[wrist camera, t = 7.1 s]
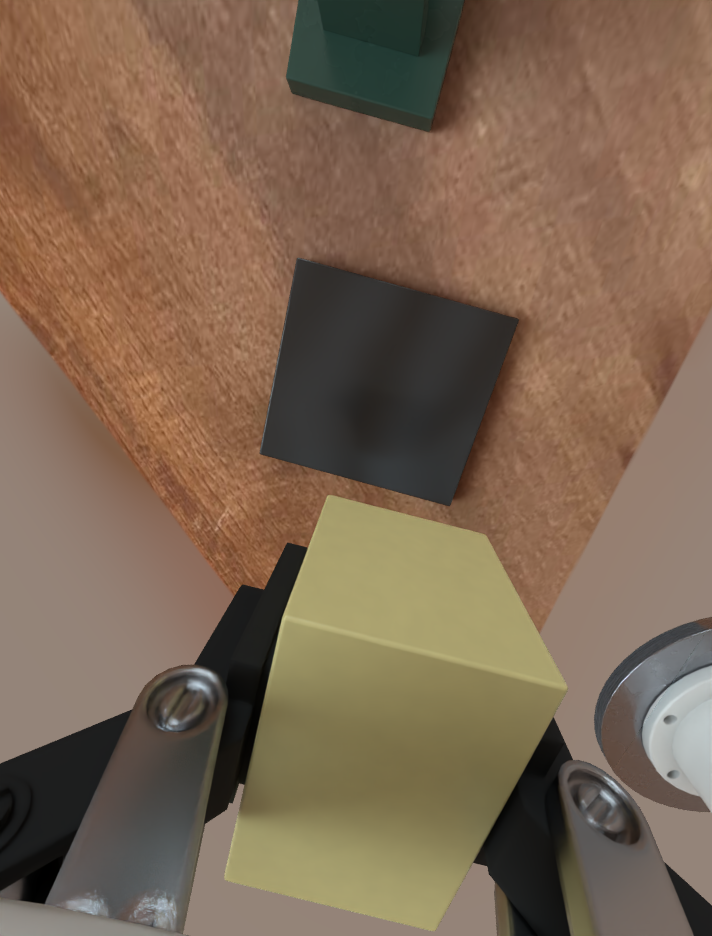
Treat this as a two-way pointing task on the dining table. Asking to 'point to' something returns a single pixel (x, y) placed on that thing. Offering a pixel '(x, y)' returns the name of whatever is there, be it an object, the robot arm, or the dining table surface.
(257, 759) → the butter
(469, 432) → the board
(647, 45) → the dining table surface
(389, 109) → the green lever stand
